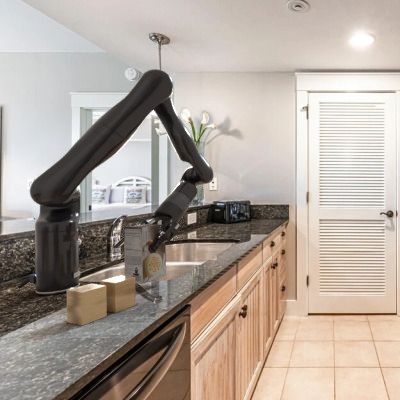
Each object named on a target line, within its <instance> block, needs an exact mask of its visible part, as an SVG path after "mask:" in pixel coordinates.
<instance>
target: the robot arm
mask: <svg viewBox="0 0 400 400" xmlns="http://www.w3.org/2000/svg"><path fill="white" fill-rule="evenodd" d="M174 89H175V88H174V81H173V79H172V77H171V75H170V74H169V73H167V72H166V71H164V70H161V69H157V68H154V69H153V68H151V69H148V70H146V71H144V72H143V73H142V74H141V76H140V78H139V80H138V81H137V82H136V83H135V85H134V86H133V88H132V89H130V91H129V92H128V93H127V94H126V96H124V98H122V99H121V100H120V101H119V102H117V103H115V105H113V106H112V107H111V108H109V109H108V110H107V111H106V112H104V113H103V114H102V115H101V116H100V117H98V118H97V120H96V121H95V122H94V123H93V124H92V125H90V126H89V128H88V129H87V130H86V131H85V132H84V133H83V134H82V135H81V136H80V138H79V139H78V140H77V141H76V142H74V144H72V146H71V147H70V149H68V151H67V152H66V153H65V154H64V155H63V156H62V157H61V158H60V159H59V160H57V161H56V162H55V163H54V164H52V165H51V166H50V167H49V168H47V169H46V170H45V171H44V172H42V173H41V174H40V175H38V176H37V177H36V178H35V179H34V180H33V181H32V183H31V184H30V188H29V196H30V198H31V199H32V202H34V203H36V204H37V205H38V206H39V215H38V217H37V219H36V221H35V223H34V242H35V243H34V246H35V249H34V250H35V259H34V273H32V274H29V278H27V279H25V280H24V281H22V282H21V283H19V285H18V286H17V288H18V289H22V288H23V287H24V286H25V285H27V284H35V286H34V287H35V295H38V296H49V295H50V296H52V295H59V294H64V293H67V290H69V289H73V288H76V287H80V286H81V285H80V284H81V283H80V276H81V270H80V247H79V246H80V244H79V243H80V241H79V240H80V239H79V223H80V219H81V205H82V203H81V202H82V201H81V200H82V198H81V196H82V195H81V188H80V185H81V184H82V183H83V181H84V180H85V179H86V178H87V177H88V176H89V175H90V174H91V173H92V172H93V171H94V170H96V169H97V168H98V167H100V166H101V165H103V164H104V163H105V162H107V161H108V160H110V159H111V158H113V157H114V156H115V155H116V154H118V152H119V151H121V149H123V147H124V146H125V145H126V144H127V143H128V142H129V141H130V140H131V138H132V137H133V136H134V135H135V133H136V132H137V131H138V129H140V127H141V126H142V124H143V122H144V121H145V119H147V117H149V115H150V114H151V113H152V112H153V111H154V113H155V114H156V116H157V118H158V119H159V121H160V123H161V125H162V127H163V128H164V130H165V133H166V135H167V137H168V139H169V141H170V144H171V145H172V147H173V149H174V151H175V153H176V155H177V157H178V159H179V160H180V161H181V162H183V163H188V164H189V165H190V167H188V168H186V169H185V170H184V171H183V173H182V175H181V177H180V179H179V182H178V183H177V185H176V187H175V188H174V189H173V190H172V191H171V192H170V193H169V194H168V195H167V196H166V197H165V199H164V200H163V201H162V202H161V204H160V205H158V207H157V208H156V210H155V211H154V214H153V215H154V216H153V217H154V218H153V219H151V220H149V221H148V220H146V219H143V220H142V221H141V222H140V223H139V225H142V224H164V225H163V227H162V226H161V227H160V229H159V230H158V234H157V239H155V240H154V241H153V242H152V244H151V245H150V246H149V248H148V250H149V251H150V252H151V253H155V252H156V251H157V250H158V248H159V247H160V245H161V244H162V243H164V242H165V243H166V242H168V243H169V242H171V241H172V240H173V239H174V237H175V236H176V235H177V233H178V232H179V231H180V229H182V226H181V225H180V223H179V222H180V221H181V219H182V218H183V217H184V215H185V214H186V213H187V211H188V210H189V208H190V206H191V204H192V203H193V201H194V200H195V199H196V198H197V196H198V194H199V189H198V186H201V185H206V184H207V185H208V184H209V183H212V182H213V181H214V176H215V175H214V170H213V168H212V166H211V164H210V163H209V162H208V160H207V159H206V158H205V157H204V155H203V154H202V153H201V152H200V151H199V149H198V147H197V144H196V142H195V139H194V138H193V136H192V134H191V132H190V131H189V129H188V128H187V126H186V125H185V123H184V122H183V120H182V118H181V117H180V115H179V114H178V112H177V110H176V108H175V105H174V102H173V99H172V95H173V92H174ZM164 232H165V233H164Z"/></svg>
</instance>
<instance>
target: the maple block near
mask: <svg viewBox="0 0 400 400" xmlns="http://www.w3.org/2000/svg"><path fill="white" fill-rule="evenodd" d="M107 314H108V311H107V303H106V286H105V285H101V284H97V283H88V284H83V285H80V287H76V288H73V289H69V290H67V292H66V323H70V324H74V325H79V326H86V325H88V324H91V323H93V322H95V321H99V320H100V319H103V318H106V317H108V316H107Z"/></svg>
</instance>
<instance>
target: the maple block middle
mask: <svg viewBox="0 0 400 400" xmlns="http://www.w3.org/2000/svg"><path fill="white" fill-rule="evenodd" d="M99 283H100V285H105V286H106V303H107V312H108V313H115V314H117V313H119V312H121V311H124V310H126V309H129V308H131V307H132V308H133V307H134V306H136V283H135V277H129V276H125V275H117V276H113V277H109V278H105V279H103V280H100V281H99Z"/></svg>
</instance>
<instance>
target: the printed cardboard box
mask: <svg viewBox="0 0 400 400" xmlns="http://www.w3.org/2000/svg"><path fill="white" fill-rule="evenodd" d="M163 225H164V224H142V225H140V224H135V225H128V226H124V227H123V252H124V253H123V254H124V255H123V256H124V257H123V258H124V276H129V277H135V285H136V284H138V285H144V284H148V283H150V282H152V281H155V280H157V279H159V278H162V277H165V276H167V255H166V254H167V250H166V249H167V248H166V247H167V246H166V245H167V244H166V241H165V242H164V243H162V244H161V245H160V247H159V248H158V250H157V251H156V252H155V253H151V252H150V251H149V250H148V248H149V246H150V245H151V244H152V242H153V241H154V240H155V239H157V234H158V230H159V229H160V227H161V226H162V227H163ZM164 233H165V232H164Z"/></svg>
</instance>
